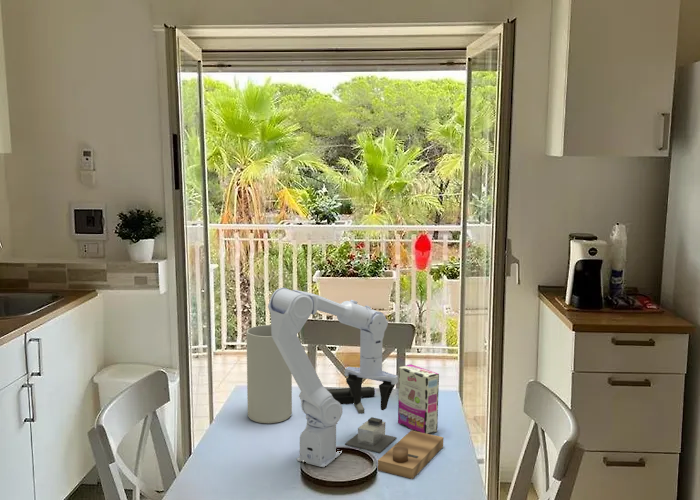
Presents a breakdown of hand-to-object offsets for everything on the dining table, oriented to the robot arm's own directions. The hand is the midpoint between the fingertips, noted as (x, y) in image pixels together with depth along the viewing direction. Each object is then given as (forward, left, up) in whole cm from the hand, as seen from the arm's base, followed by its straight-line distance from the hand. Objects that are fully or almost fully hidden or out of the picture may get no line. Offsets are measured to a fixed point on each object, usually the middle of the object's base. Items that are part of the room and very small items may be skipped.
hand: (370, 406), depth 176 cm
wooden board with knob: (-4, -13, -9) cm, 17 cm away
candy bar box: (+14, -7, -10) cm, 19 cm away
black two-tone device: (+19, +18, -10) cm, 28 cm away
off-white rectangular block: (0, 0, -9) cm, 9 cm away
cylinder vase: (+1, +33, -10) cm, 34 cm away
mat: (-1, 0, -9) cm, 9 cm away
